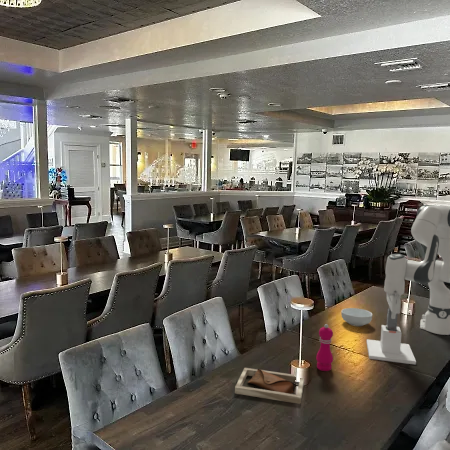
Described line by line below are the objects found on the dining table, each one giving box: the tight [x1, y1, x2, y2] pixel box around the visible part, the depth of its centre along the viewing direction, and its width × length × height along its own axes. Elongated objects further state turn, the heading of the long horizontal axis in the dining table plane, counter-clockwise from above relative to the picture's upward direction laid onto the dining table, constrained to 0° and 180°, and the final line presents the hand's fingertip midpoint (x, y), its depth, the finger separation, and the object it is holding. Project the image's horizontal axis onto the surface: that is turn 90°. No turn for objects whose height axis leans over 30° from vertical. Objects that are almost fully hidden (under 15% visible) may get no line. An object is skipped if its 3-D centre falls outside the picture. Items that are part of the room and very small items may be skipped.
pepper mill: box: [315, 323, 334, 372], centre depth 181 cm, size 7×7×20 cm
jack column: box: [386, 307, 399, 331], centre depth 197 cm, size 4×4×16 cm
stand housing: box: [365, 324, 417, 365], centre depth 198 cm, size 20×20×12 cm
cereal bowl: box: [340, 307, 373, 327], centre depth 237 cm, size 17×17×7 cm
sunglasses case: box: [247, 368, 296, 394], centre depth 164 cm, size 18×7×7 cm, turn 51°
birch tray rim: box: [234, 367, 305, 405], centre depth 164 cm, size 17×25×2 cm
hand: (392, 316), depth 197 cm, fingers closed on jack column, 4 cm apart
